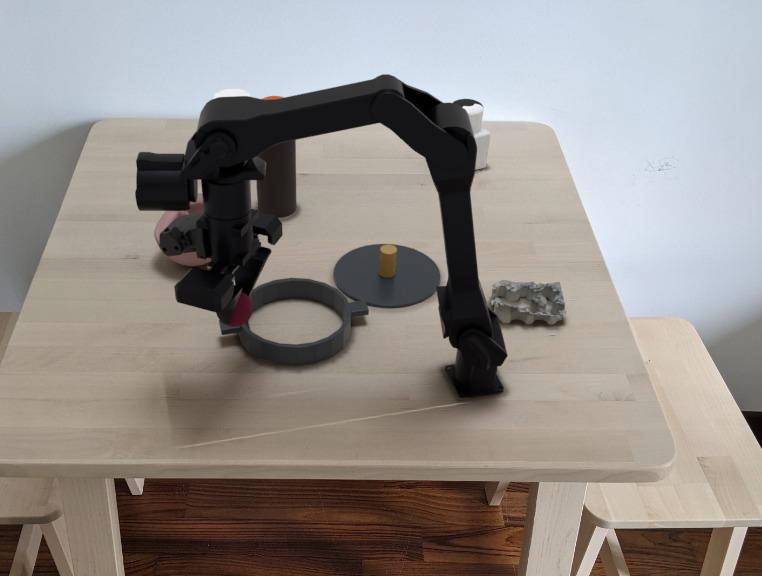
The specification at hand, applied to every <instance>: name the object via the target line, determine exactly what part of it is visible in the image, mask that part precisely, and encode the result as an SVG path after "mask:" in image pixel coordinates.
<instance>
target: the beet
mask: <svg viewBox="0 0 762 576" xmlns="http://www.w3.org/2000/svg"><path fill="white" fill-rule="evenodd" d="M252 314H253V312H252V302H251V300H250V298H249V297H248V296H247V295H246V294H245V293H244V292H242V291H241V294H240V297H239V300H238V303H237V306H236V309H235V312H234V315H233V318H232V320H231V323H230V324H229V325H227V326H231V327H237V326H241V325H243V324H245V323H246V322H247V321H248V322H249V320H250V319H251V317H252ZM216 317H217V318H218V321H219V320H220V319H219V317H218V315H217V314H216ZM225 325H226V324H225Z"/></svg>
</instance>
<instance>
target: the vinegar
mask: <svg viewBox="0 0 762 576" xmlns="http://www.w3.org/2000/svg"><path fill="white" fill-rule="evenodd" d="M280 98H285V96H280V95H268V96H264V97H262V99H263V100H273V99H280ZM296 141H297V140H292V141H287V142H283V143H280V144H277V145H274V146H272V147H270V148H269V149H267V150H266V151H264V152H263V153H261V154H260V155H258V156H257V157H259V158H261V159H262V160H264V161H265V162H266V172H265V179H264V180H255V181H256V199H257V200H256V202H257V210H258V212H261V213H265V214H270V215H274V216H276V217H277V218H278V219H281V218H286V217H290V216H291V215H293V214H294V213H295V212H296V211H297V145H296V144H297V142H296Z"/></svg>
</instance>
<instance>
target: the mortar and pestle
mask: <svg viewBox="0 0 762 576" xmlns="http://www.w3.org/2000/svg"><path fill="white" fill-rule="evenodd" d="M195 213H204V208H203V197H202V192H198V197H197V202H191V201H190V209H188V211H164V213H163V214H162V215H161V217H160V218H159V219H158V221H157V223H156V225H155V228H154V233H153V234H154V235H153V236H154V239H155V242H156V244H157V247H158V248H159V250H160V251H161V252H162V253H163V251H162V249H161V248H160V247H159V244H160V238H159V237H160V233H161V232H162V231H163V230H164V229H165V228H166V227H167V226H168V225H169V224H170V223H171V222H172V221H173V220H174V219H175V218H177V217H179V216H181V215H187V214H195ZM166 257H167V258H168V259H170V260H171V261H172V262H174V263H176V264H179V265H181V266H185V267H186V266H187V267H199V266H202V265H206V264H209V263H210V262H211V259H210V258H207V259H206V260H204V259H200V258H197V254H196V252H191V253H182V254H181V255H177V256H166Z"/></svg>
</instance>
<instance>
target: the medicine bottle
mask: <svg viewBox="0 0 762 576" xmlns="http://www.w3.org/2000/svg"><path fill="white" fill-rule="evenodd" d="M452 103H454V104H458V105H459V106H461V107H462V108H464V109H465V110H466V111H467V113H468V115H469V119H470V122H471V126H472V130H473V133H474V137H475V141H476V145H477V158H476V167H475V171H477V170H481V169H485V168H487V167H486V166H487V160H488V155H489V147H490V139H491V132H490V131H488V130H487V129H486V128H485V127H483V126H482V125H483V116H484V110H485V107H484V105H483V103H481V102H480V101H479V100H475V99H473V98H460V99H459V98H458V99H456V100H454V101H452Z"/></svg>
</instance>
